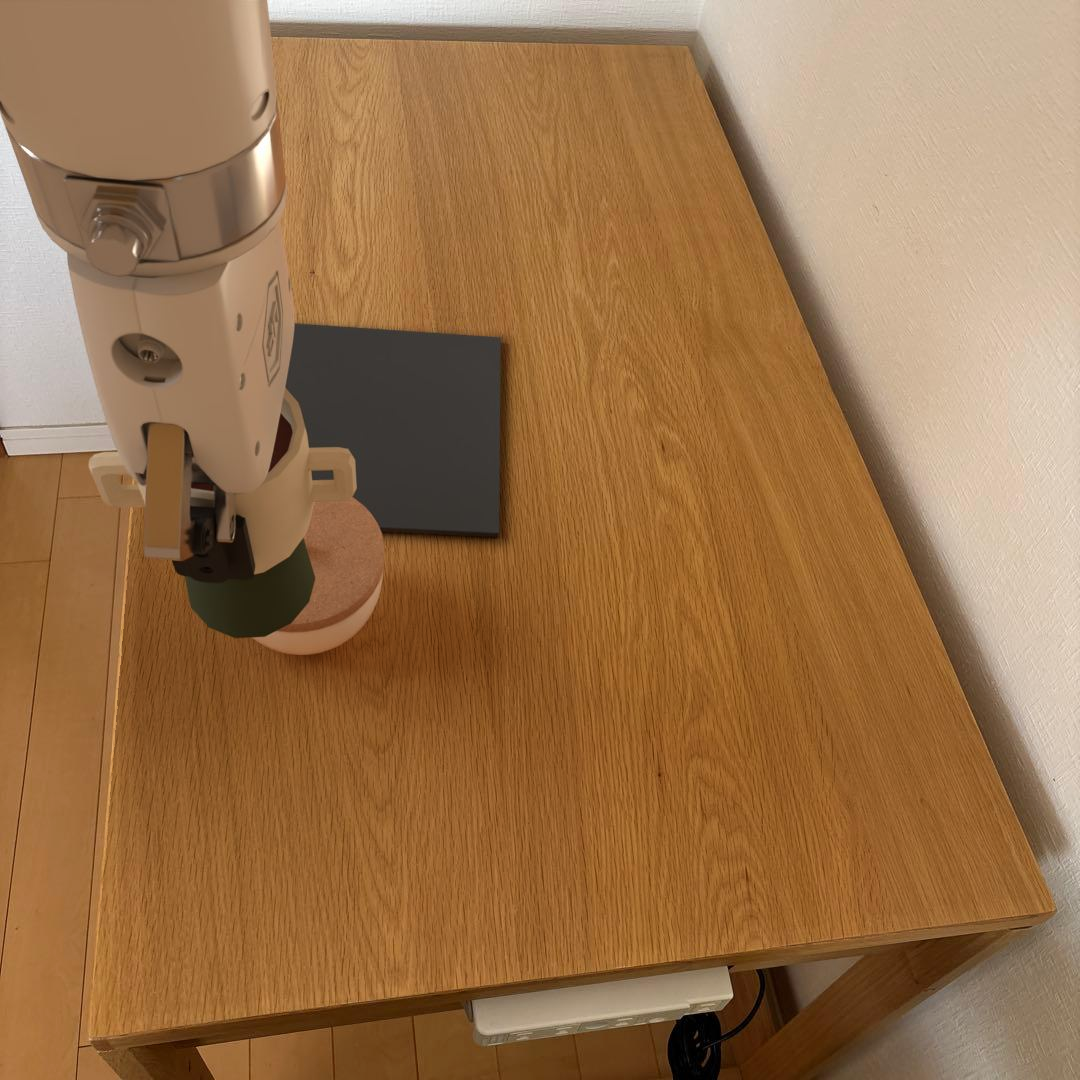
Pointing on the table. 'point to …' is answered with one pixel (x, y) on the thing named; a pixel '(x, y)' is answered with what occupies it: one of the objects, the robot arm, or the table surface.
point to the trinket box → (336, 579)
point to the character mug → (258, 528)
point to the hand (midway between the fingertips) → (232, 494)
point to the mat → (406, 421)
